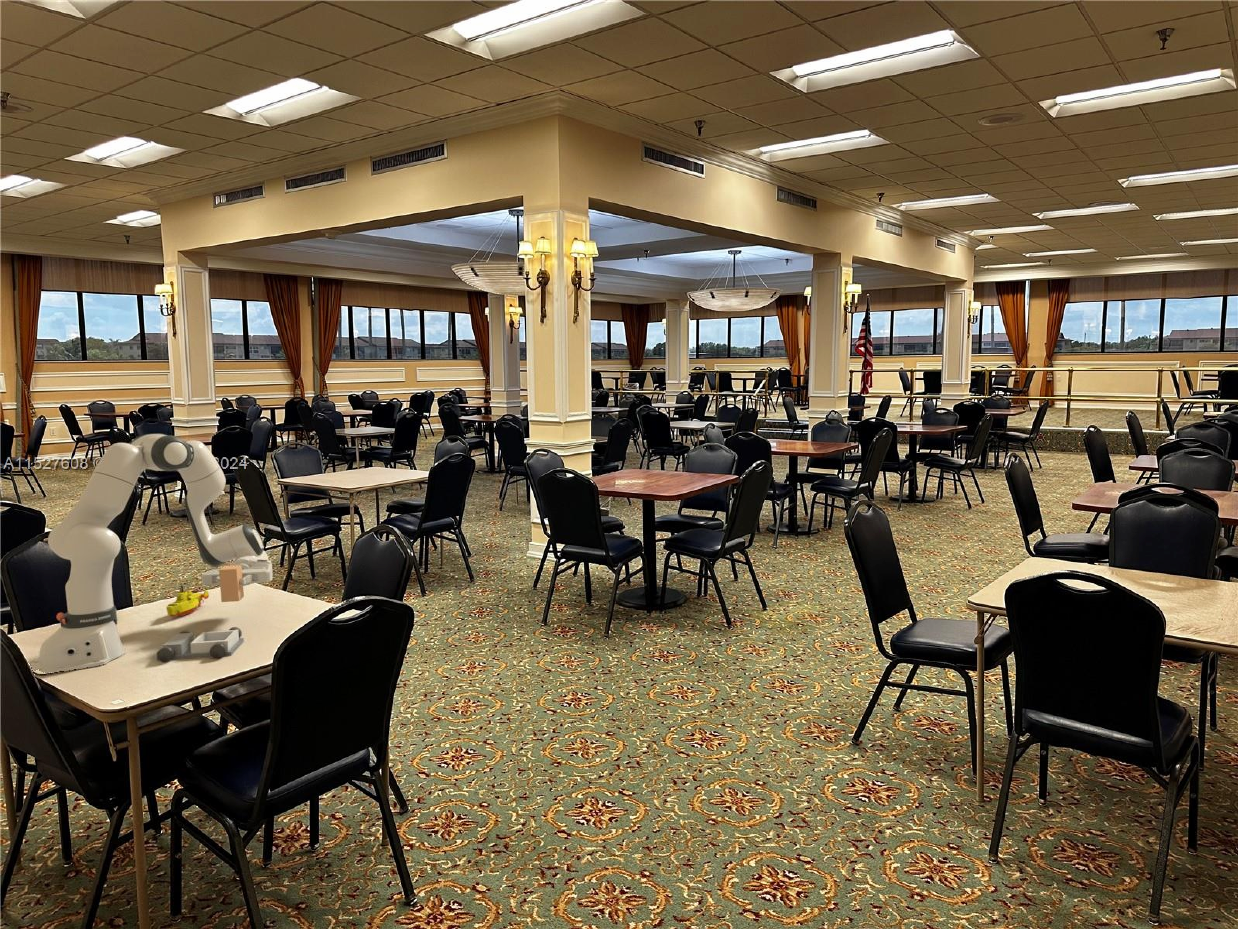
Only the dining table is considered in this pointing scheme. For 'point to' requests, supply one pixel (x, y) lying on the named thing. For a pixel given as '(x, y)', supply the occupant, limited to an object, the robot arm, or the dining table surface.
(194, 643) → the chassis
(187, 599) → the toy boat
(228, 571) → the block
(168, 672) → the dining table surface
